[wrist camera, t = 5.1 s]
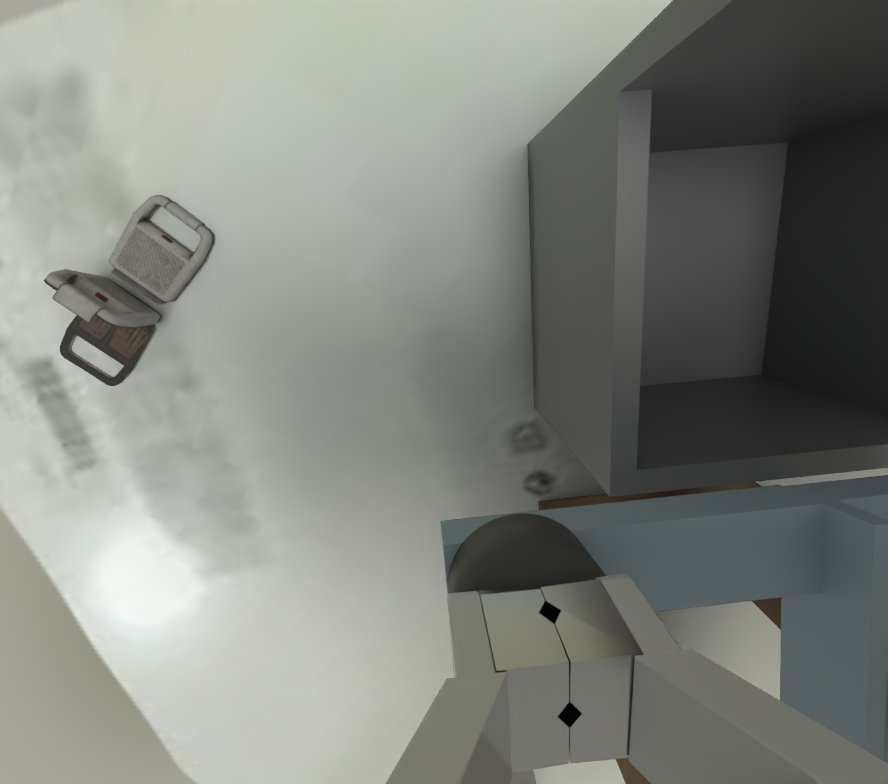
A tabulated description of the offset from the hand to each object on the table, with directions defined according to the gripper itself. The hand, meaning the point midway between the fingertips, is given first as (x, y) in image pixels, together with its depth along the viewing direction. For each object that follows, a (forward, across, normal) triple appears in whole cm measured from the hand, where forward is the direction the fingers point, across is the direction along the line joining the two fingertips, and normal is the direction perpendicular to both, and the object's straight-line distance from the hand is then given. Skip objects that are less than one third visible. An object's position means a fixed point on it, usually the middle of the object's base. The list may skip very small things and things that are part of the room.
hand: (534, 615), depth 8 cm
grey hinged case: (+15, +13, -5) cm, 21 cm away
